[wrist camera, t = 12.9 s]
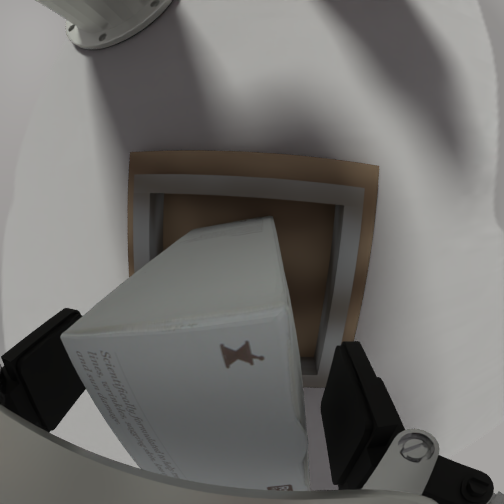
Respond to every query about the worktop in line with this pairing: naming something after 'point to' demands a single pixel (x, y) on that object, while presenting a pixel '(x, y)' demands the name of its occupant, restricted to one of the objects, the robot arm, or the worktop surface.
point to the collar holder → (286, 223)
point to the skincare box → (202, 362)
